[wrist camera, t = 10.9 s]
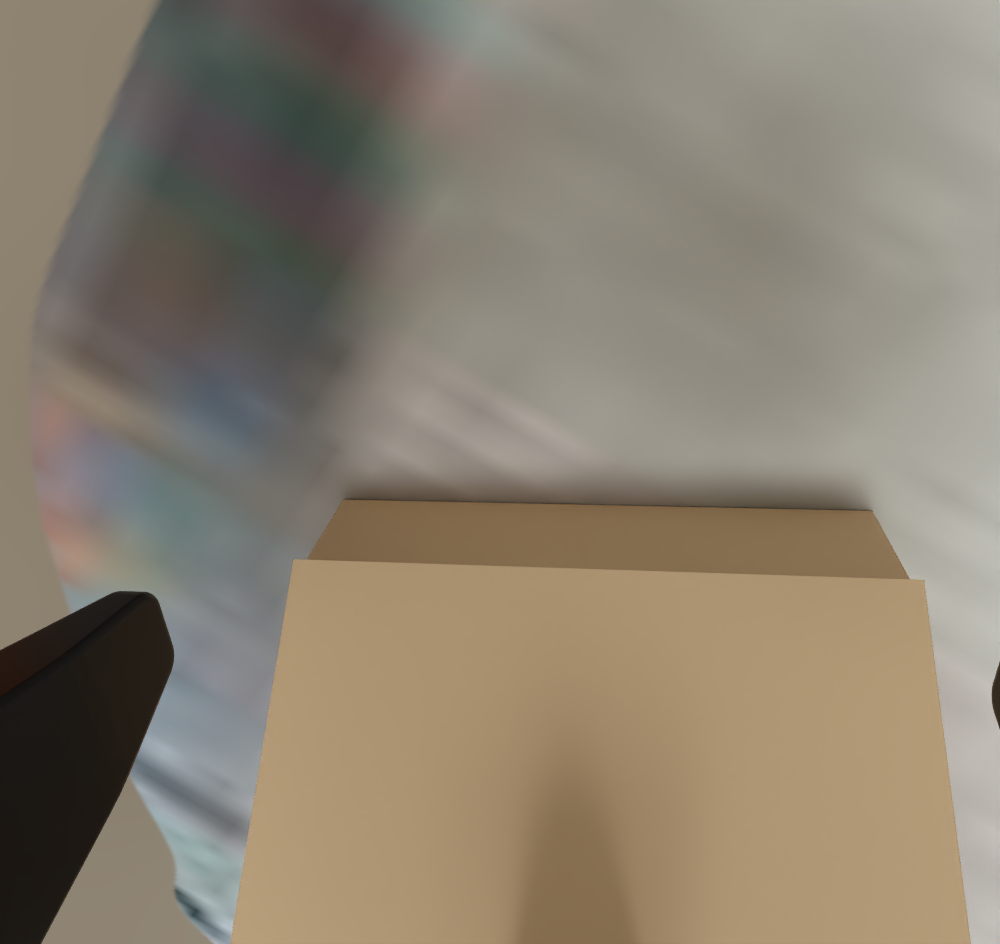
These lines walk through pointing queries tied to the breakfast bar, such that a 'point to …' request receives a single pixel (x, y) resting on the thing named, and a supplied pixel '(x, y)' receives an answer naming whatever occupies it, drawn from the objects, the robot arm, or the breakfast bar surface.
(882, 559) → the carton
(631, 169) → the breakfast bar surface
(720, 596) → the lid flap
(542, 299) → the breakfast bar surface
